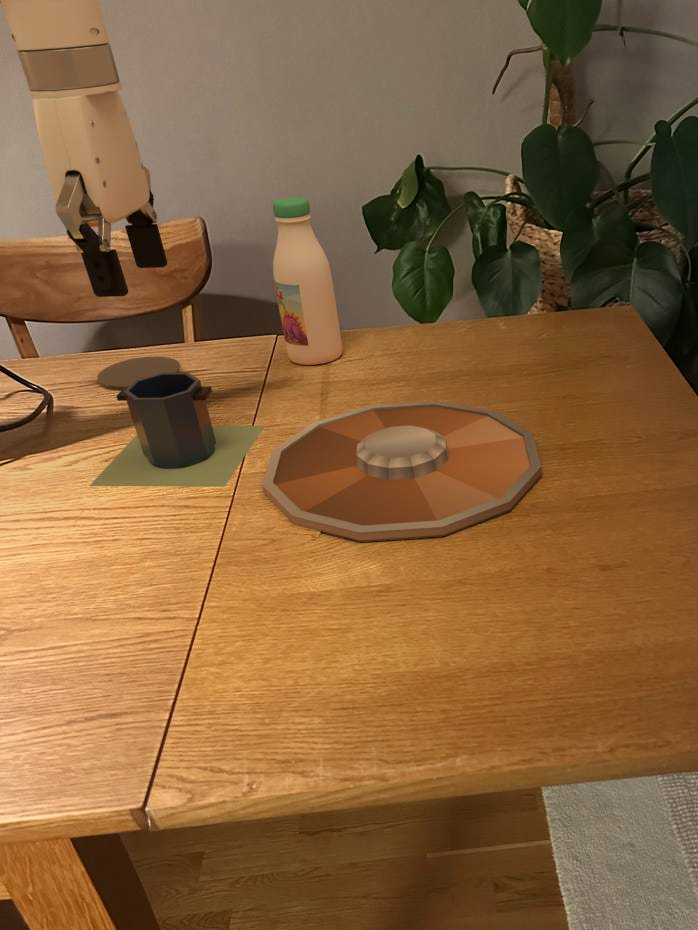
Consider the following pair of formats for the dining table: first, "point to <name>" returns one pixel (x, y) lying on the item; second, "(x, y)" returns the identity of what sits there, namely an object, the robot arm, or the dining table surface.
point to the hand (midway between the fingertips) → (133, 280)
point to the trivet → (135, 371)
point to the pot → (171, 419)
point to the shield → (402, 471)
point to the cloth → (211, 472)
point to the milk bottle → (304, 287)
